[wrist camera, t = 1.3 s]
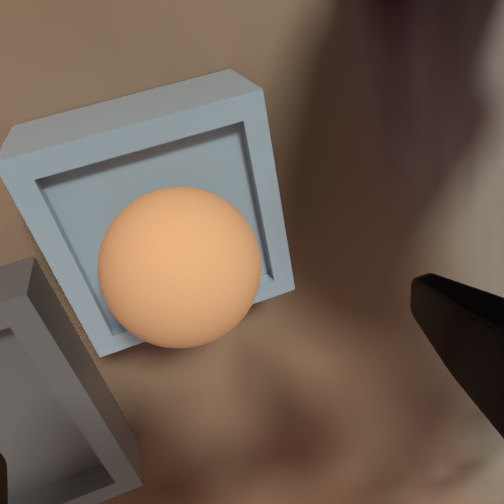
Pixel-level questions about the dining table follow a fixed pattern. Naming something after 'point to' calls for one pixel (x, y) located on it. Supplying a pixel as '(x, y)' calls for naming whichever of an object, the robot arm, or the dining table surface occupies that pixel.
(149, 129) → the light blue storage bin
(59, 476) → the tray
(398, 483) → the dining table surface
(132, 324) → the ball
